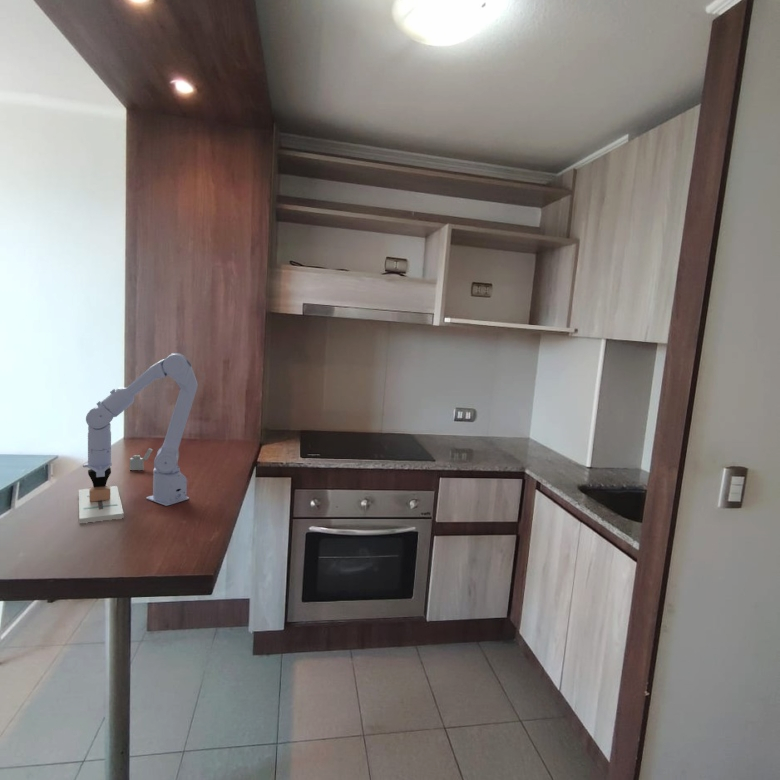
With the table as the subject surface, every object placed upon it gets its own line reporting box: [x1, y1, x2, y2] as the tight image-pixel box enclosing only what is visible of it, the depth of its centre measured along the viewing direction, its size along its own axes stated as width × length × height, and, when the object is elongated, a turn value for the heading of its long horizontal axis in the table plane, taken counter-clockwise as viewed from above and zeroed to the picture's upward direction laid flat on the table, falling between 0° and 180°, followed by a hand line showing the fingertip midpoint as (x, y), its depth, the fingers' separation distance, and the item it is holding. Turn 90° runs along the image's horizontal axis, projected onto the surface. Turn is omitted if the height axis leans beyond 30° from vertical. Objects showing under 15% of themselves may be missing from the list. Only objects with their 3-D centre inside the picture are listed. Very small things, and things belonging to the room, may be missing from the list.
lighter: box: [129, 447, 153, 471], centre depth 171 cm, size 7×2×8 cm, turn 104°
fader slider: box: [88, 485, 111, 501], centre depth 138 cm, size 3×5×3 cm, turn 123°
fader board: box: [78, 485, 125, 524], centre depth 138 cm, size 24×10×2 cm, turn 33°
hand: (99, 494), depth 140 cm, fingers closed
